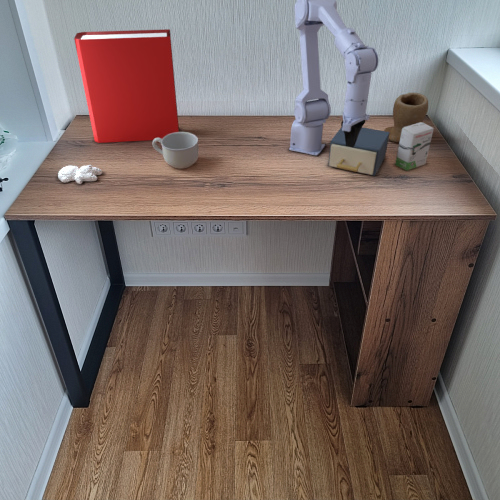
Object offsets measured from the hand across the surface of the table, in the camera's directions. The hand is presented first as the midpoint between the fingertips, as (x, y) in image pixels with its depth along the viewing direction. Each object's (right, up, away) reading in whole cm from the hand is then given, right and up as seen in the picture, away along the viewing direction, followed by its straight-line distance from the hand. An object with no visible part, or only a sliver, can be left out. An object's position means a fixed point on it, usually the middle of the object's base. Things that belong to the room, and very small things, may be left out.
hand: (350, 146), depth 139 cm
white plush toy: (-77, -8, +7) cm, 77 cm away
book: (-65, +9, +29) cm, 72 cm away
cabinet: (+5, -2, +15) cm, 16 cm away
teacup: (-49, -2, +14) cm, 52 cm away
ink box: (+21, -3, +14) cm, 25 cm away
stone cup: (+24, +8, +27) cm, 37 cm away
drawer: (+3, -3, +12) cm, 12 cm away
